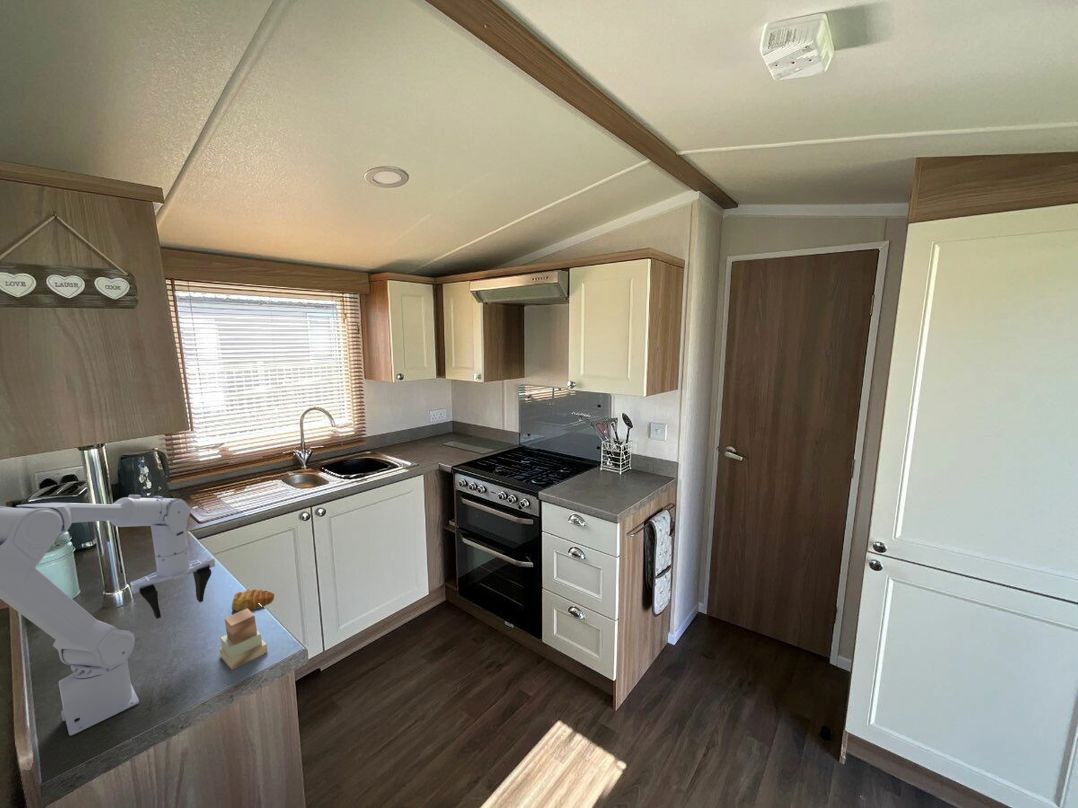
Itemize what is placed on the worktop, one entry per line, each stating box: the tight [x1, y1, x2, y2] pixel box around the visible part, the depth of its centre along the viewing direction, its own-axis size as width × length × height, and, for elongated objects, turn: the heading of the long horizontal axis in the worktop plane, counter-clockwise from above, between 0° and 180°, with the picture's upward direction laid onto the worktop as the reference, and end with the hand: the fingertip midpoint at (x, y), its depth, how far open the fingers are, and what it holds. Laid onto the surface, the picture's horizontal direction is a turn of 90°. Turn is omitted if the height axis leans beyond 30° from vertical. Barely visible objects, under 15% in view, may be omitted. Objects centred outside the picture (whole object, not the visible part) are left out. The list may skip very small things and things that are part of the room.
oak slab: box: [219, 638, 268, 671], centre depth 100 cm, size 7×7×2 cm
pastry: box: [231, 588, 275, 613], centre depth 120 cm, size 9×7×4 cm
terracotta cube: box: [224, 608, 258, 645], centre depth 100 cm, size 4×4×4 cm
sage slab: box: [220, 630, 263, 659], centre depth 100 cm, size 6×6×2 cm
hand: (179, 608), depth 101 cm, fingers open, 7 cm apart
